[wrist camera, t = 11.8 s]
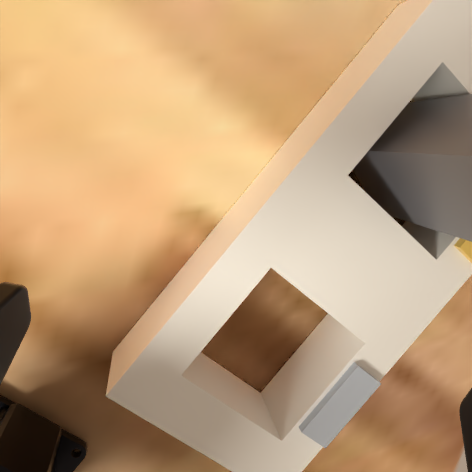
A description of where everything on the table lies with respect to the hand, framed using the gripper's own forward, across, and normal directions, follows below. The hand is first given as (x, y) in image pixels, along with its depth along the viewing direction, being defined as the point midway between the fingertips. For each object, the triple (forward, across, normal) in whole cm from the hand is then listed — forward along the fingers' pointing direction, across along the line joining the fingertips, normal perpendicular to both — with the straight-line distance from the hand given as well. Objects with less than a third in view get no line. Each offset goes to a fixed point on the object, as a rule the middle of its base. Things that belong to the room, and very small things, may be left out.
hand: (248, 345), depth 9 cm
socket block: (+13, -4, +6) cm, 15 cm away
